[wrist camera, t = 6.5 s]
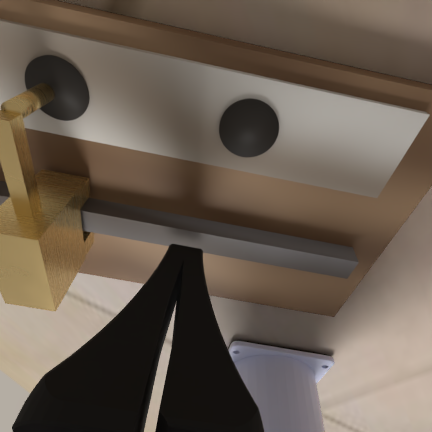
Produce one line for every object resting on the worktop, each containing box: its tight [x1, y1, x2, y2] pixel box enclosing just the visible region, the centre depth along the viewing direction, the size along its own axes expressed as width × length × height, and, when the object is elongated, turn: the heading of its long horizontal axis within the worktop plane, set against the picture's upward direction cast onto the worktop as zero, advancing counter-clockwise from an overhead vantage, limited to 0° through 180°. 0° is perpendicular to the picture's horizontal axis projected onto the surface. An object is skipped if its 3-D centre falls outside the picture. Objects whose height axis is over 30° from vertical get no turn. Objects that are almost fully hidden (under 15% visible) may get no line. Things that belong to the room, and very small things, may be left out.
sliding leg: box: [0, 83, 94, 311], centre depth 11 cm, size 8×2×4 cm, turn 170°
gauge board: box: [0, 0, 432, 317], centre depth 13 cm, size 13×24×5 cm, turn 79°
